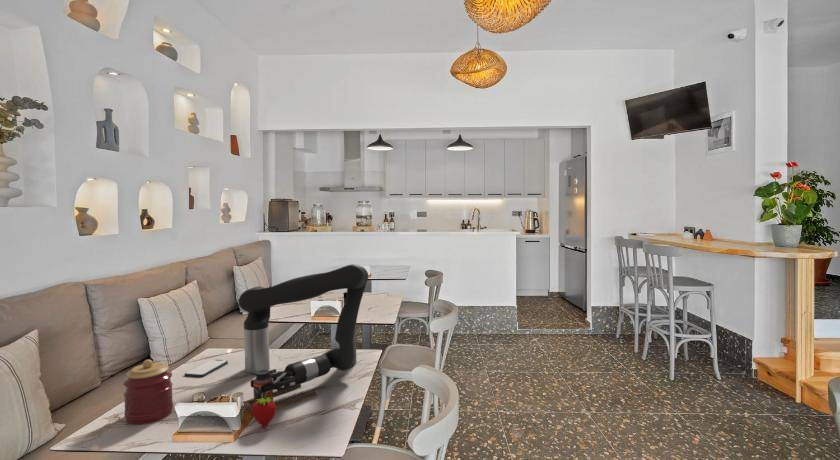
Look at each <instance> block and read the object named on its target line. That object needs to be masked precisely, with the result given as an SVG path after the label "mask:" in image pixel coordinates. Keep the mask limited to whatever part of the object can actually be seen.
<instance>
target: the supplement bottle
mask: <svg viewBox="0 0 840 460" xmlns="http://www.w3.org/2000/svg"><path fill="white" fill-rule="evenodd" d="M269 371H270V370H269V369H268V370H260V371H258V372H257V373H255V376H256V378H254V379H253V380H254V382H253V398H254V403H255V402H257V400H256V399H261V398H264V399H265V400H266V398H268V397H271V398H270V399H272V400H273V401H274V396H273V392H274V390H270V391H267V392H264V393H261V392H260V386H262V385H265V384H268V383H272V382H273V378H272V377H271V376H270V374H269ZM265 395H266V397H265ZM254 403H253V404H254Z"/></svg>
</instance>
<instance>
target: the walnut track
mask: <svg viewBox="0 0 840 460" xmlns="http://www.w3.org/2000/svg"><path fill="white" fill-rule="evenodd" d="M301 387H302V384H299V385H297V386H295V387H292V388H289V389H285V390H282V391H277V390H273V397H275V396H278V395H281V394H284V393H287V392H290V391H293V390H296V389H298V388H301ZM315 396H317V391H316V390H312V391H310V392H306V393H303V394H301V395H300V396H296V397H293V398H290V399H288V400H284V401H282V402H280V403H277V404H276V403H275V404H276V408H277V409H276V411H277V410H279V409H282V408H284V407H288V406H291V405H292V404H296V403H298V402H301V401H303V400H306V399H309V398H312V397H315ZM242 402H243V403H244V406H243V408H245V409H247V410H248V411H250V412H251V410H252V406H253V404H254V397H252V398H250V399H247V400H245V401H242Z"/></svg>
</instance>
